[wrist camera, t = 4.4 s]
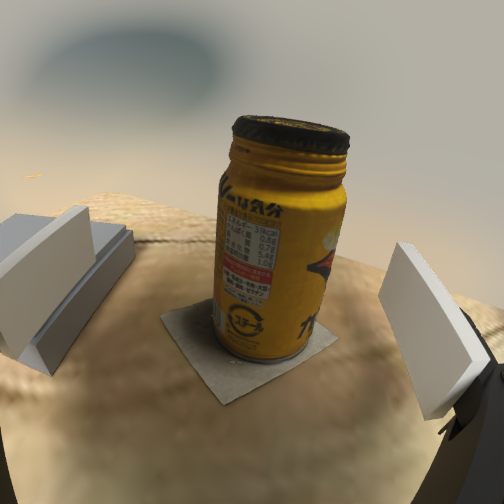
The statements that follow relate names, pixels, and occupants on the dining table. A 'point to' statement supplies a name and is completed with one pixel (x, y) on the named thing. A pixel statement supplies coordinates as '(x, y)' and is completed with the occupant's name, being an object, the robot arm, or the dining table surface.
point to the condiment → (268, 255)
